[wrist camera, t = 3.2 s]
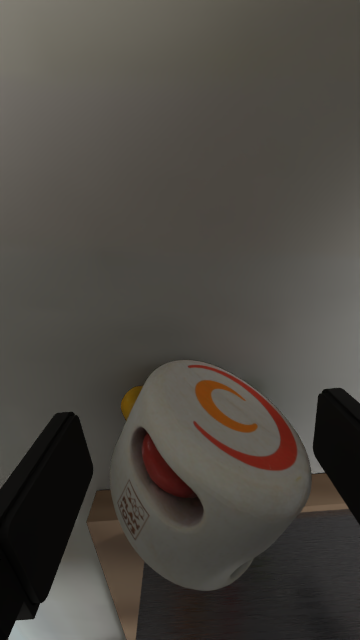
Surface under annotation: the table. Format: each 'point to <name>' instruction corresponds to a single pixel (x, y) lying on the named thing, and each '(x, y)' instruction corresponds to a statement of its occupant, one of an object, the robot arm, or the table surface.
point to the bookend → (269, 590)
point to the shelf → (128, 566)
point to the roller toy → (205, 474)
